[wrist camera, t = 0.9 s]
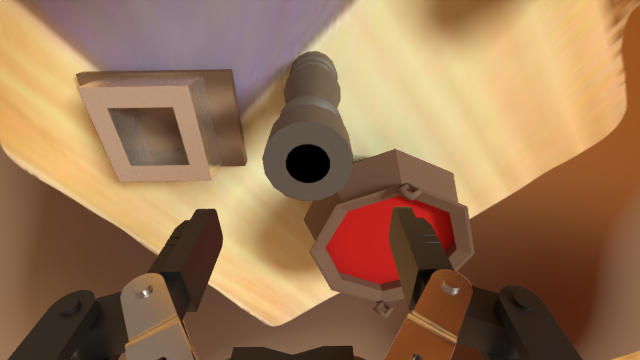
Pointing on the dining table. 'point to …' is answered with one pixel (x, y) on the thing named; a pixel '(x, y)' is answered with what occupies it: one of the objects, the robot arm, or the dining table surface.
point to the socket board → (163, 122)
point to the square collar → (127, 136)
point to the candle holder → (309, 134)
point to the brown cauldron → (383, 224)
